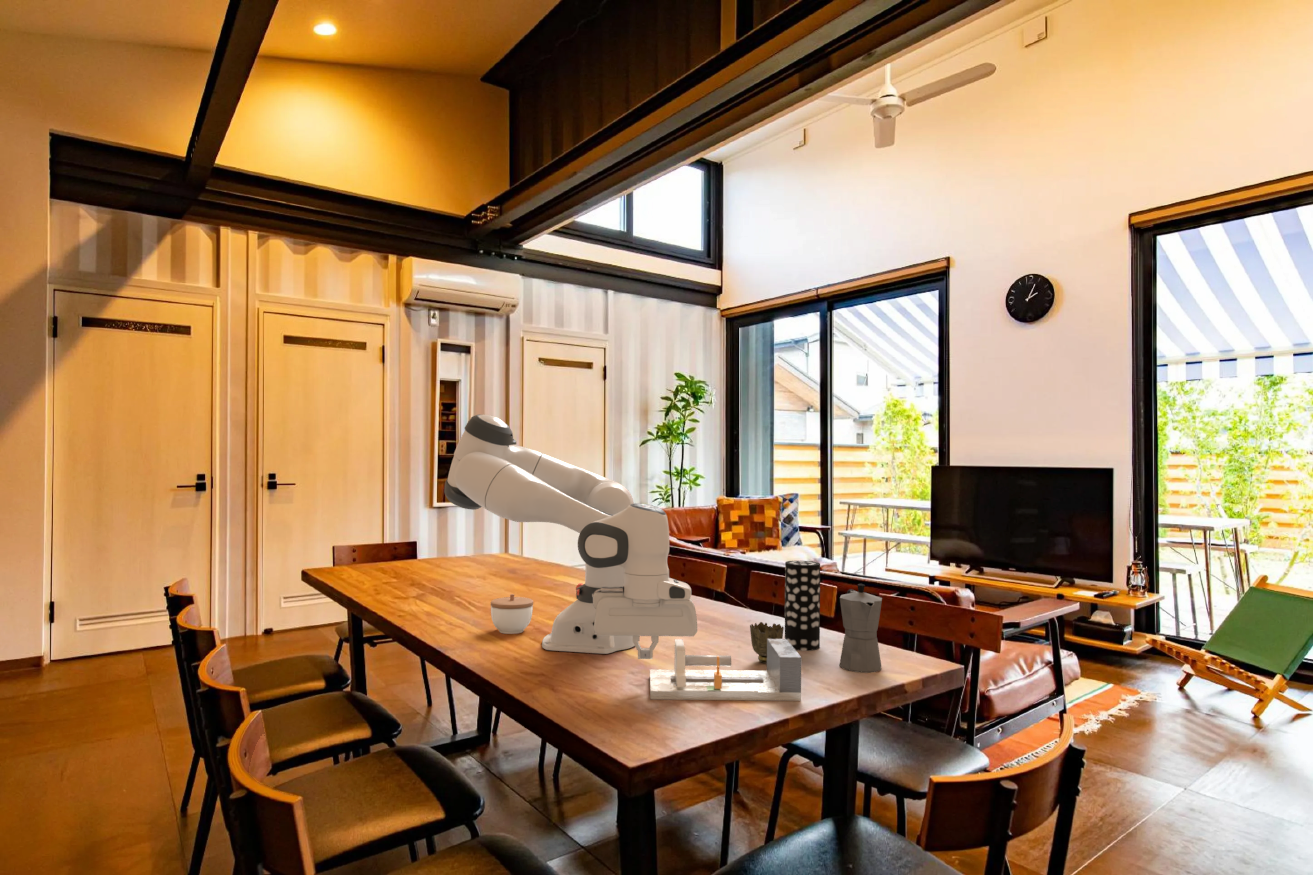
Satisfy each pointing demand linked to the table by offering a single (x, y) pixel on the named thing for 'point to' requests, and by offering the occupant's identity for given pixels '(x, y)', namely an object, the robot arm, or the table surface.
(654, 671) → the gauge base
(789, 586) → the spotted tube
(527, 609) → the lidded jar
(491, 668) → the table surface
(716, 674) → the orange t-shaped block
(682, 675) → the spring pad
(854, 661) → the coffeepot
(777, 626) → the cup
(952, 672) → the table surface
